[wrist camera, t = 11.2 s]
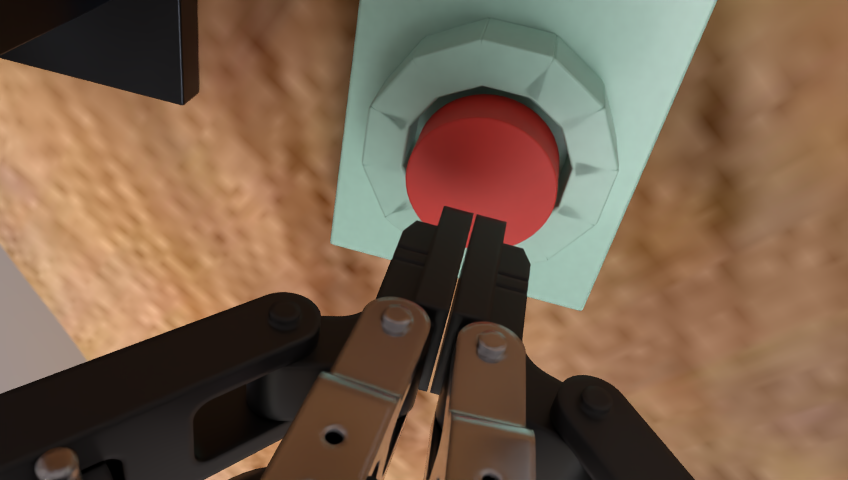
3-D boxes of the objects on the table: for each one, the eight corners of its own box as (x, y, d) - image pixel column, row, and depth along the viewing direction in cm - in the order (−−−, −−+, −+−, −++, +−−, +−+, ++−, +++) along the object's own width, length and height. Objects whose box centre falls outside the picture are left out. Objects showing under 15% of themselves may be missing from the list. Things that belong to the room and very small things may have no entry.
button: (430, 76, 18) (419, 100, 17) (578, 114, 18) (578, 140, 16) (406, 201, 20) (394, 230, 19) (536, 235, 20) (533, 266, 19)
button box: (395, -113, 19) (350, -85, 16) (707, -38, 19) (736, 8, 15) (351, 204, 26) (312, 275, 22) (582, 265, 25) (581, 349, 22)
